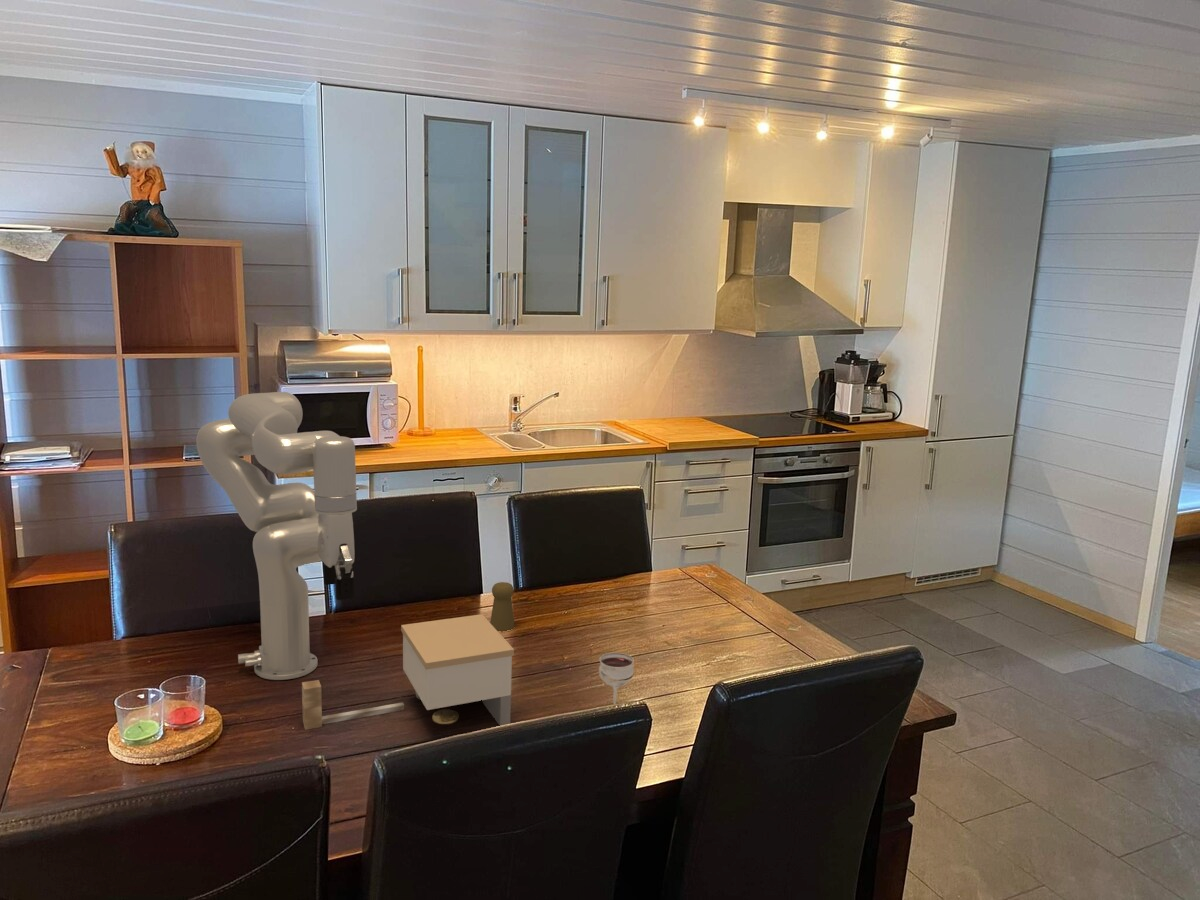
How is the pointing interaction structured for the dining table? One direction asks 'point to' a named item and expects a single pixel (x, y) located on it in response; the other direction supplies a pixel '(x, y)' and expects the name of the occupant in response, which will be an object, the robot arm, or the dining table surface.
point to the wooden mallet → (315, 718)
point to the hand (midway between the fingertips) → (338, 590)
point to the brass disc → (445, 716)
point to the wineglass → (616, 670)
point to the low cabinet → (459, 664)
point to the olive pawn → (502, 607)
